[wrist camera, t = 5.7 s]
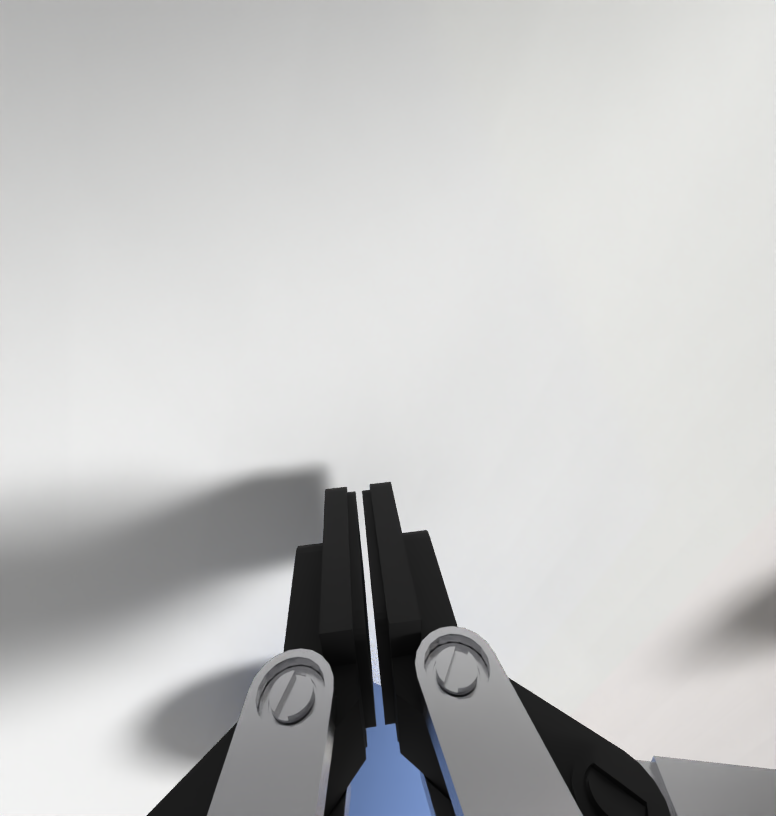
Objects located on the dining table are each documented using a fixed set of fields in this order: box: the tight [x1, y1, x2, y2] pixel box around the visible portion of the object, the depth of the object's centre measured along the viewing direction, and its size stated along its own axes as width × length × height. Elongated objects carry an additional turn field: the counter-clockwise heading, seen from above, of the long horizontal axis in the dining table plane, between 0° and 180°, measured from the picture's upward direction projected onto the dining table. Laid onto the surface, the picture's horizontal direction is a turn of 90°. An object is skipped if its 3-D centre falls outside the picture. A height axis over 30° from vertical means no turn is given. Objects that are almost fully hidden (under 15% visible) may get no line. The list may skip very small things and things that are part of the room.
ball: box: [349, 683, 431, 816], centre depth 12 cm, size 6×6×6 cm
